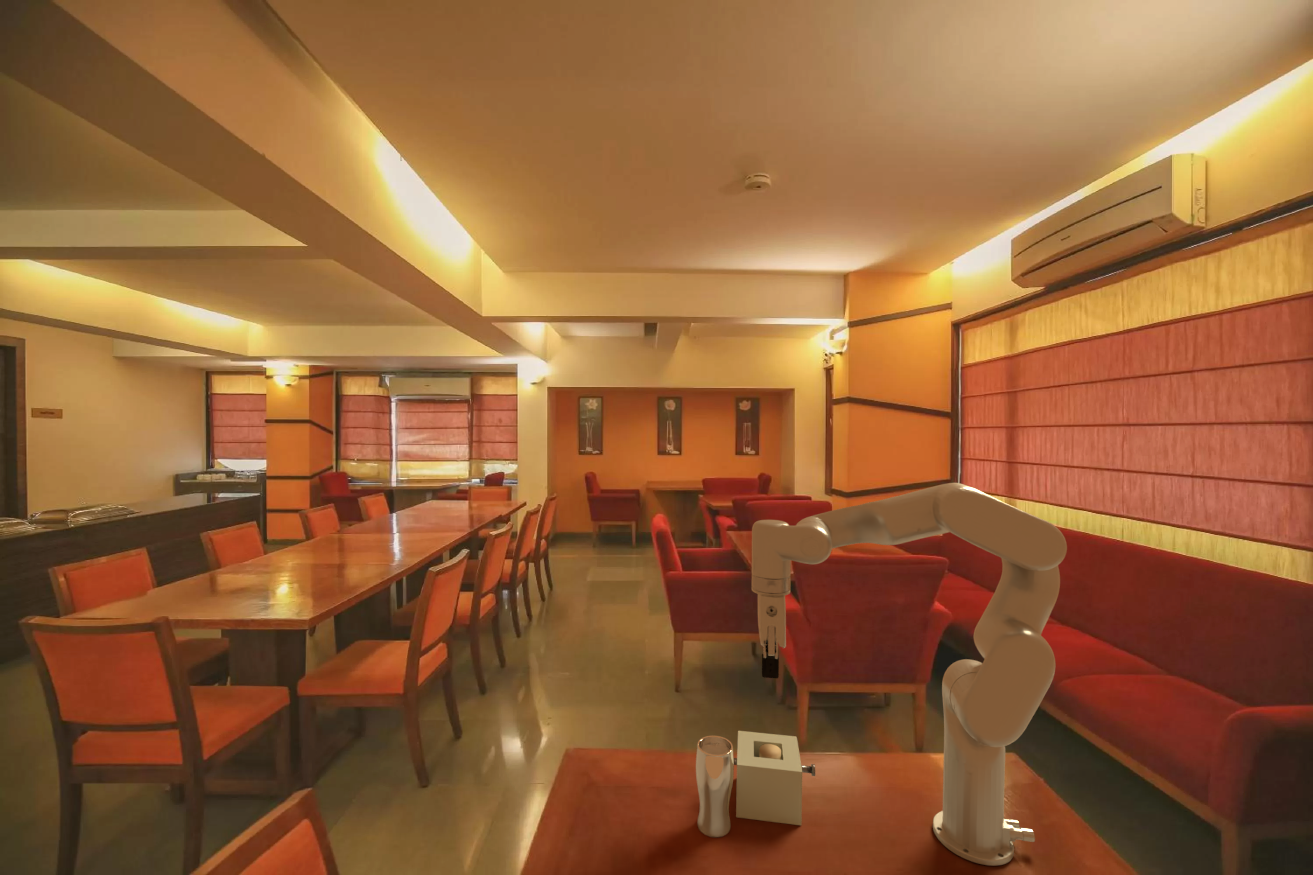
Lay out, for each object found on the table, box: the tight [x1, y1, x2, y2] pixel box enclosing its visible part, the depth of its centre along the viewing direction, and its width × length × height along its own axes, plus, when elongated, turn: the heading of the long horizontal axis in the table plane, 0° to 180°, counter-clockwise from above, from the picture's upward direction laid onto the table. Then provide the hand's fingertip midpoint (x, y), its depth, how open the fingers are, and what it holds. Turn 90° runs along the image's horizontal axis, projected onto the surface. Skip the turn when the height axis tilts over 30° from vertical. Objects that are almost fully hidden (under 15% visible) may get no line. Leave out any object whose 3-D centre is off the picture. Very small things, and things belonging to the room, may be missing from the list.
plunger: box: [801, 763, 816, 777], centre depth 108 cm, size 6×2×2 cm, turn 80°
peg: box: [759, 744, 781, 760], centre depth 109 cm, size 4×4×10 cm
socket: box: [735, 730, 803, 826], centre depth 109 cm, size 12×12×10 cm
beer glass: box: [695, 735, 735, 838], centre depth 101 cm, size 7×7×15 cm
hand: (770, 675), depth 108 cm, fingers closed
